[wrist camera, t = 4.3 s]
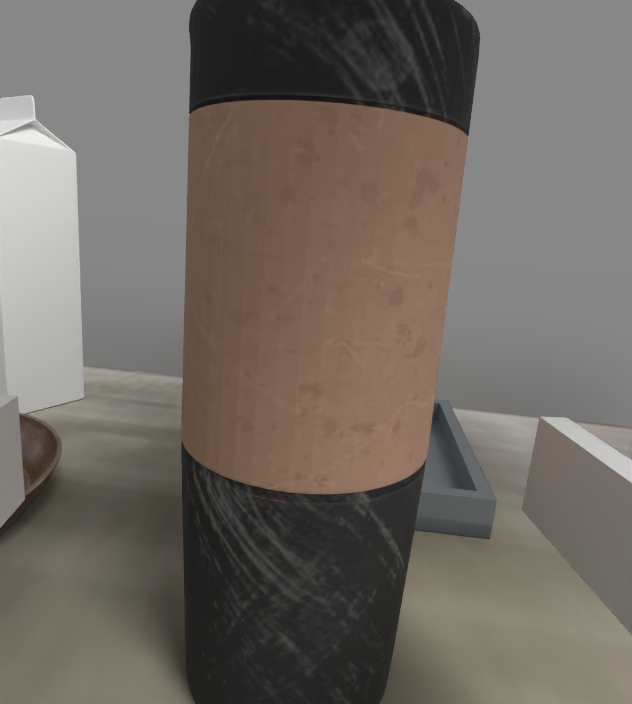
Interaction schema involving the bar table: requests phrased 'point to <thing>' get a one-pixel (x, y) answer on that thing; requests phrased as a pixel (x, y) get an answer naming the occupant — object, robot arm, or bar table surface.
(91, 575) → the bar table surface
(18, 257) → the milk
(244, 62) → the travel mug
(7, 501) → the robot arm
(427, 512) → the tray
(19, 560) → the bar table surface
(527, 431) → the bar table surface
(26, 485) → the plant saucer
